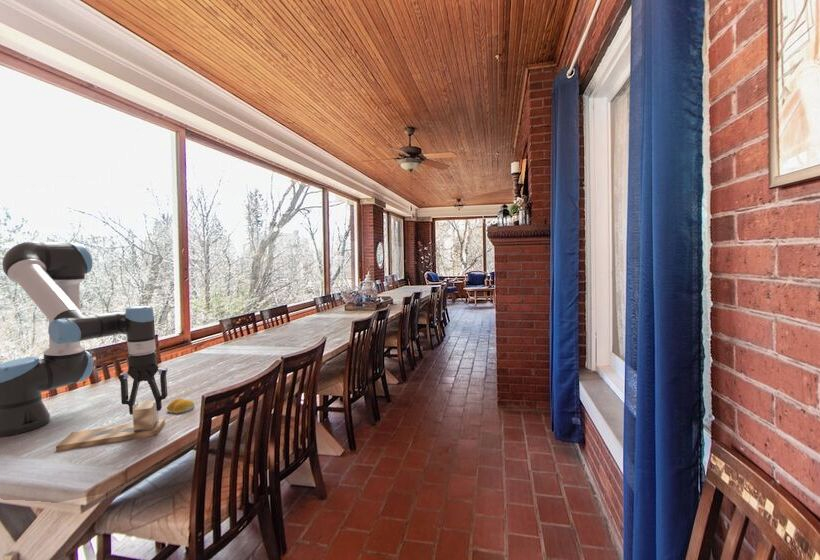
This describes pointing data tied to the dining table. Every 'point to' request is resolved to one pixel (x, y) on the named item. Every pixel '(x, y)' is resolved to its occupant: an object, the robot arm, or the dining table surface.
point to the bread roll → (180, 406)
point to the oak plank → (106, 435)
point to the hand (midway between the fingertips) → (146, 421)
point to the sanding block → (143, 416)
